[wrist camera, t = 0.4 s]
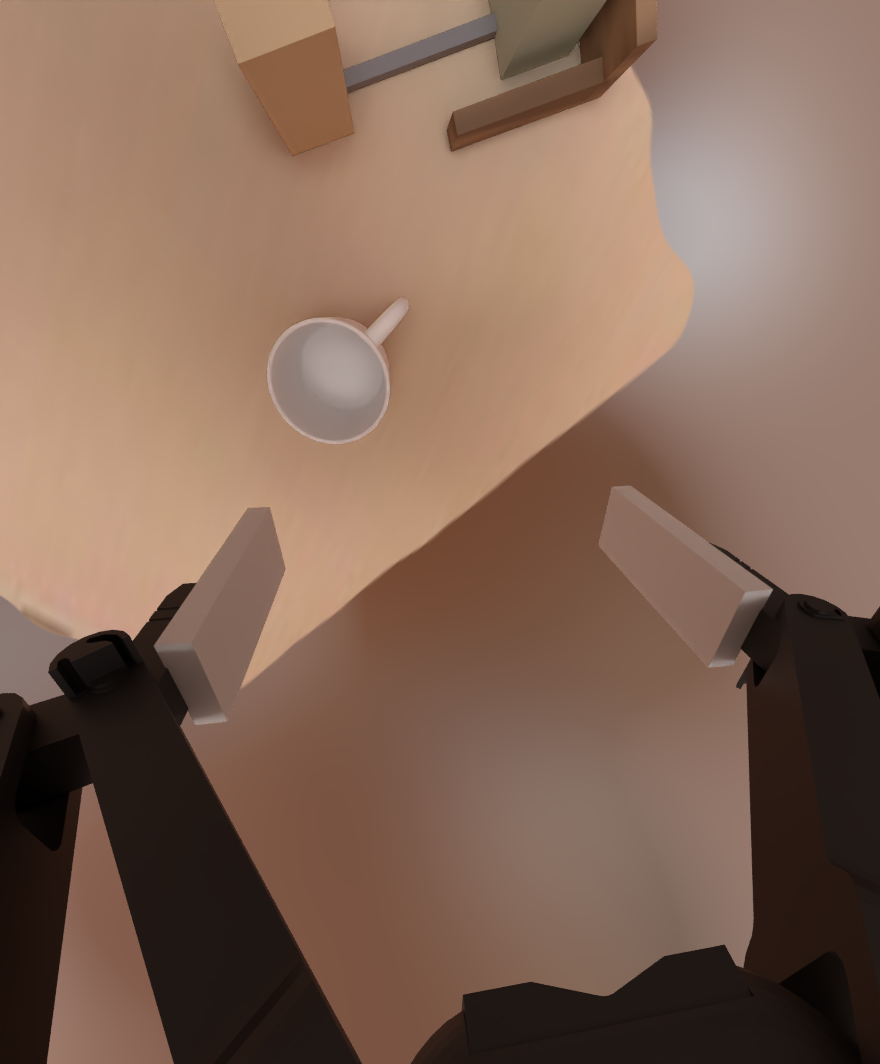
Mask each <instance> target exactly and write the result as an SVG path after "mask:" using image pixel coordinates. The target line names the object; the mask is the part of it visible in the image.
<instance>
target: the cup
mask: <svg viewBox="0 0 880 1064" xmlns="http://www.w3.org/2000/svg"><path fill="white" fill-rule="evenodd" d="M409 306H410V305H409V301H408V300H407V299H406V298H405V297H399V298H398V299H397V300H396V301H394V302H393V303H392V304H391V305H390V306H389V307H388V308H387V309H386V310H385V311H384V312H383V313H382V314H381V315H380V316H379V317H378V318H377V319H376V320H375V322H374V323H373V324H372V325H371V326H370V327H369V328H366V327H365V326H364V325H362V324H360V323H359V322H356V321H354V320H351V319H348V318H343V317H321V318H311V319H306V320H303V321H300V322H298V323H296V324H294V325H292V326H291V327H289V328H288V329H287V330H286V331H284V332H283V333H282V335H281V336H280V337H279V338H278V339H277V341H276V342H275V344H274V346H273V348H272V350H271V352H270V355H269V359H268V364H267V383H268V388H269V392H270V395H271V398H272V400H273V403H274V405H275V407H276V409H277V410H278V412H279V413H280V415H281V416H282V417H283V419H284V420H285V421H286V422H287V423H288V424H289V425H290V426H291V427H292V428H294V429H295V430H296V431H297V432H299V433H300V434H302V435H304V436H306V437H307V438H310V439H312V440H315V441H318V442H321V443H327V444H345V443H350V442H353V441H356V440H358V439H360V438H362V437H364V436H366V435H367V434H369V433H370V432H371V431H372V430H373V429H374V428H375V427H376V426H377V425H378V424H379V422H380V421H381V419H382V418H383V416H384V414H385V412H386V409H387V406H388V402H389V397H390V372H389V363H388V359H387V355H386V352H385V350H384V348H383V346H382V342H383V341H384V340H385V339H386V338H387V337H388V335H389V334H390V333H391V332H392V331H393V330H394V328H395V327H396V326H397V325H398V324H399V322H400V321H401V320H402V319H403V317H404V316H405V314H406V313H407V311H408V310H409Z"/></svg>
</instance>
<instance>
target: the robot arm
mask: <svg viewBox="0 0 880 1064" xmlns="http://www.w3.org/2000/svg"><path fill="white" fill-rule="evenodd" d="M599 547H600V548H601V549H602V550H603V551H604V552H605V553H606V555H607V556H608V557H609V558H610V559H611V560H612V561H613V562H614V563H615V564H616V565H617V567H618V568H619V569H620V570H621V571H622V572H623V573H624V575H625V576H626V577H627V578H628V579H629V580H630V581H631V582H632V583H633V585H634V586H635V587H636V588H637V589H638V590H639V591H640V592H641V593H642V594H643V596H644V597H645V598H646V599H647V600H648V601H649V602H650V604H651V605H652V606H653V607H654V608H655V609H656V610H657V611H658V612H659V614H660V615H661V616H662V617H663V618H664V619H665V620H666V621H667V622H668V623H669V625H670V626H671V627H672V628H673V629H674V630H675V631H676V632H677V634H678V635H679V636H680V637H681V638H682V639H683V640H684V641H685V643H686V644H687V645H688V646H689V647H690V648H691V649H692V650H693V651H694V652H695V654H696V655H697V656H698V657H699V658H700V659H701V660H702V661H703V663H704V664H705V665H706V666H707V667H708V668H710V667H719V666H728V665H733V663H734V661H735V660H736V658H737V656H738V654H739V652H740V650H741V649H742V650H743V651H744V652H745V653H746V654H747V655H748V656H749V657H750V658H751V659H750V661H749V663H748V665H747V667H746V668H745V670H744V672H743V674H742V676H741V677H740V679H739V681H738V683H737V686H736V687H737V688H739V689H741V687H742V685H743V684H745V683H747V714H748V715H747V716H748V749H749V777H750V778H749V781H750V814H751V847H752V876H753V877H752V879H753V912H754V922H753V932H752V937H751V940H750V943H749V946H748V949H747V952H746V956H745V962H744V968H742V967H739V966H736V965H735V963H734V961H733V960H732V957H731V956H730V954H729V952H728V950H727V948H726V946H725V945H720V946H715V947H711V948H705V949H700V950H695V951H690V952H684V953H679V954H673V955H668V956H664V957H663V958H661V959H660V960H659V961H657V962H656V963H654V964H653V965H652V966H650V967H649V968H648V969H646V970H645V971H643V972H642V973H641V974H640V975H638V976H637V977H635V978H634V979H632V980H631V981H630V982H628V983H627V984H626V985H624V986H623V987H622V988H620V989H619V990H617V991H616V992H615V993H614V994H611V995H609V996H598V995H593V994H588V993H583V992H578V991H573V990H568V989H563V988H558V987H553V986H549V985H544V984H539V983H534V982H528V983H522V984H517V985H512V986H506V987H501V988H496V989H491V990H485V991H480V992H475V993H470V994H465V995H463V1001H462V1011H461V1012H460V1013H458V1014H457V1015H455V1016H454V1017H453V1018H451V1019H450V1020H448V1021H447V1022H446V1023H444V1024H443V1025H442V1026H441V1027H440V1028H439V1029H438V1030H437V1031H436V1032H435V1033H434V1034H433V1035H432V1036H431V1037H430V1038H429V1039H428V1041H427V1042H426V1043H425V1044H424V1046H423V1047H422V1048H421V1049H420V1051H419V1052H418V1053H417V1055H416V1056H415V1058H414V1059H413V1061H412V1062H411V1064H880V607H879V608H878V610H877V611H876V613H875V614H874V615H873V617H872V618H871V619H868V618H860V617H852V616H848V615H847V614H846V613H845V612H844V611H842V610H841V609H840V608H838V607H837V606H835V605H833V604H831V603H829V602H827V601H825V600H822V599H819V598H816V597H813V596H809V595H803V594H791V595H789V594H787V593H786V592H784V591H783V590H782V589H780V588H779V587H777V586H776V585H775V584H773V583H772V582H770V581H769V580H768V579H766V578H765V577H763V576H762V575H760V574H759V573H758V572H756V571H755V570H753V569H750V567H749V566H748V565H746V564H745V563H744V562H740V560H739V559H738V558H737V557H735V556H734V555H732V554H731V553H730V552H728V551H726V550H724V549H722V548H720V547H718V546H716V545H714V544H711V543H709V542H707V541H706V540H704V539H703V538H701V537H700V536H699V535H698V534H696V533H695V532H693V531H692V530H690V529H689V528H688V527H686V526H685V525H683V524H682V523H681V522H679V521H678V520H677V519H675V518H674V517H673V516H671V515H670V514H668V513H667V512H666V511H664V510H663V509H662V508H660V507H659V506H658V505H656V504H655V503H653V502H652V501H651V500H649V499H648V498H647V497H645V496H644V495H642V494H641V493H640V492H638V491H637V490H635V489H634V488H633V487H631V486H618V487H612V489H611V494H610V498H609V503H608V507H607V511H606V515H605V520H604V524H603V528H602V532H601V537H600V541H599ZM284 572H285V565H284V561H283V557H282V553H281V549H280V545H279V541H278V537H277V533H276V529H275V525H274V521H273V518H272V514H271V510H270V507H261V508H248V509H247V510H246V512H245V513H244V515H243V516H242V518H241V519H240V520H239V522H238V523H237V525H236V526H235V528H234V529H233V531H232V532H231V534H230V535H229V537H228V538H227V539H226V541H225V542H224V544H223V545H222V547H221V548H220V550H219V551H218V553H217V554H216V556H215V557H214V558H213V560H212V561H211V563H210V564H209V566H208V567H207V569H206V570H205V572H204V573H203V575H202V576H201V577H200V579H199V580H198V582H197V583H189V584H182V585H181V586H179V587H178V588H177V589H175V590H174V591H173V592H171V593H170V594H169V595H167V596H166V598H165V599H164V600H163V602H162V603H161V604H160V606H159V607H158V608H157V611H155V612H154V614H153V615H152V616H151V617H150V619H149V622H147V623H146V624H145V625H144V627H143V628H142V629H141V631H140V632H139V633H138V635H137V636H136V637H135V639H134V640H133V641H132V640H131V638H130V636H129V635H128V634H127V633H125V632H124V631H119V630H109V631H102V632H98V633H95V634H92V635H89V636H86V637H84V638H82V639H80V640H78V641H76V642H74V643H72V644H70V645H69V646H68V647H66V648H65V649H64V650H62V651H61V652H60V653H59V654H58V655H57V656H56V657H55V658H54V659H53V661H52V662H51V663H50V666H49V672H48V673H49V674H50V675H51V677H52V678H53V679H54V681H55V682H56V683H57V685H58V686H59V687H60V688H61V690H62V691H63V692H64V694H65V695H62V696H58V697H55V698H52V699H49V700H46V701H42V702H39V703H36V704H33V705H30V706H29V705H28V704H27V703H26V702H25V700H24V699H23V698H22V697H20V696H19V695H17V694H15V693H3V694H0V1064H47V1056H48V1049H49V1042H50V1034H51V1026H52V1018H53V1010H54V1003H55V995H56V986H57V980H58V972H59V964H60V956H61V949H62V941H63V933H64V925H65V917H66V909H67V902H68V895H69V886H70V879H71V871H72V862H73V856H74V848H75V840H76V832H77V824H78V817H79V809H80V802H81V794H82V787H84V786H87V785H89V784H92V783H93V784H94V788H95V792H96V795H97V798H98V802H99V805H100V809H101V812H102V816H103V819H104V823H105V826H106V830H107V833H108V836H109V840H110V843H111V847H112V850H113V854H114V857H115V861H116V864H117V868H118V871H119V875H120V878H121V881H122V885H123V889H124V892H125V896H126V899H127V903H128V906H129V909H130V913H131V916H132V920H133V923H134V927H135V930H136V934H137V937H138V940H139V944H140V947H141V951H142V954H143V958H144V961H145V965H146V968H147V972H148V975H149V978H150V982H151V986H152V989H153V992H154V996H155V999H156V1003H157V1006H158V1010H159V1013H160V1016H161V1020H162V1024H163V1027H164V1031H165V1034H166V1037H167V1041H168V1044H169V1048H170V1052H171V1055H172V1059H173V1062H174V1064H362V1063H361V1061H360V1059H359V1057H358V1055H357V1053H356V1051H355V1050H354V1048H353V1046H352V1044H351V1042H350V1040H349V1038H348V1037H347V1035H346V1033H345V1031H344V1029H343V1028H342V1026H341V1024H340V1022H339V1020H338V1019H337V1017H336V1015H335V1013H334V1011H333V1009H332V1007H331V1006H330V1004H329V1002H328V1000H327V998H326V996H325V995H324V993H323V991H322V989H321V987H320V985H319V984H318V982H317V980H316V978H315V976H314V974H313V972H312V970H311V969H310V967H309V965H308V963H307V961H306V959H305V958H304V956H303V954H302V952H301V950H300V948H299V946H298V944H297V943H296V941H295V939H294V937H293V935H292V933H291V931H290V930H289V928H288V926H287V924H286V922H285V920H284V918H283V916H282V915H281V913H280V911H279V909H278V907H277V905H276V903H275V902H274V900H273V898H272V896H271V894H270V892H269V890H268V889H267V887H266V885H265V883H264V881H263V879H262V878H261V876H260V874H259V872H258V870H257V868H256V866H255V864H254V863H253V861H252V859H251V857H250V855H249V853H248V851H247V850H246V848H245V846H244V844H243V842H242V840H241V838H240V837H239V835H238V833H237V831H236V829H235V827H234V825H233V824H232V822H231V820H230V818H229V816H228V815H227V812H226V810H225V809H224V807H223V805H222V803H221V801H220V799H219V798H218V796H217V794H216V792H215V790H214V788H213V786H212V784H211V783H210V781H209V779H208V777H207V775H206V773H205V771H204V770H203V768H202V766H201V764H200V762H199V760H198V758H197V757H196V755H195V753H194V751H193V749H192V747H191V746H190V744H189V742H188V740H187V738H186V736H185V734H184V732H183V731H182V729H181V727H180V725H181V723H182V721H183V719H184V717H185V715H186V713H187V711H188V712H189V714H190V716H191V718H192V720H193V722H194V723H195V725H201V724H210V723H219V722H227V721H228V719H229V716H230V714H231V711H232V708H233V706H234V703H235V701H236V698H237V695H238V692H239V690H240V687H241V685H242V682H243V679H244V677H245V674H246V672H247V669H248V666H249V664H250V661H251V658H252V656H253V653H254V651H255V648H256V645H257V643H258V640H259V637H260V635H261V632H262V630H263V627H264V624H265V622H266V619H267V616H268V614H269V611H270V609H271V606H272V603H273V601H274V598H275V595H276V593H277V590H278V588H279V585H280V582H281V580H282V577H283V574H284Z"/></svg>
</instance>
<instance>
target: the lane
mask: <svg viewBox="0 0 880 1064" xmlns="http://www.w3.org/2000/svg"><path fill="white" fill-rule="evenodd" d="M656 39H657V0H607V1H606V2H605V3H604V5H603V6H602V8H601V9H600V11H599V12H598V13H597V15H596V16H595V18H594V19H593V21H592V22H591V23H590V25H589V26H588V28H587V29H586V31H585V32H584V33H583V35H582V36H581V38H580V49H581V63H582V64H581V65H578V66H575V67H573V68H570V69H567V70H565V71H562V72H559V73H557V74H554V75H551V76H548V77H546V78H543V79H540V80H538V81H535V82H532V83H530V84H527V85H524V86H521V87H519V88H516V89H513V90H511V91H508V92H505V93H503V94H500V95H497V96H494V97H492V98H489V99H486V100H484V101H481V102H478V103H476V104H473V105H470V106H467V107H465V108H462V109H459V110H457V111H454V112H453V113H452V116H451V119H450V122H449V125H448V128H447V133H448V138H449V143H450V148H451V151H454V150H457V149H459V148H462V147H465V146H468V145H470V144H473V143H476V142H479V141H481V140H484V139H487V138H489V137H492V136H495V135H498V134H500V133H503V132H506V131H509V130H511V129H514V128H517V127H520V126H522V125H525V124H528V123H530V122H533V121H536V120H539V119H541V118H544V117H547V116H550V115H552V114H555V113H558V112H561V111H563V110H566V109H569V108H571V107H574V106H577V105H580V104H582V103H585V102H588V101H591V100H593V99H596V98H599V97H601V96H602V95H603V94H604V93H605V91H606V90H607V89H608V88H609V87H610V86H611V85H612V84H613V83H614V82H615V81H616V80H617V79H618V78H619V77H620V76H621V75H622V74H623V73H624V72H625V71H626V70H627V69H628V68H629V67H630V66H631V65H632V64H633V63H634V62H635V61H636V60H637V59H638V58H639V57H640V56H641V55H642V54H643V53H644V52H645V50H647V49H648V48H649V47H650V46H651V44H652V43H653V42H654V41H655V40H656Z"/></svg>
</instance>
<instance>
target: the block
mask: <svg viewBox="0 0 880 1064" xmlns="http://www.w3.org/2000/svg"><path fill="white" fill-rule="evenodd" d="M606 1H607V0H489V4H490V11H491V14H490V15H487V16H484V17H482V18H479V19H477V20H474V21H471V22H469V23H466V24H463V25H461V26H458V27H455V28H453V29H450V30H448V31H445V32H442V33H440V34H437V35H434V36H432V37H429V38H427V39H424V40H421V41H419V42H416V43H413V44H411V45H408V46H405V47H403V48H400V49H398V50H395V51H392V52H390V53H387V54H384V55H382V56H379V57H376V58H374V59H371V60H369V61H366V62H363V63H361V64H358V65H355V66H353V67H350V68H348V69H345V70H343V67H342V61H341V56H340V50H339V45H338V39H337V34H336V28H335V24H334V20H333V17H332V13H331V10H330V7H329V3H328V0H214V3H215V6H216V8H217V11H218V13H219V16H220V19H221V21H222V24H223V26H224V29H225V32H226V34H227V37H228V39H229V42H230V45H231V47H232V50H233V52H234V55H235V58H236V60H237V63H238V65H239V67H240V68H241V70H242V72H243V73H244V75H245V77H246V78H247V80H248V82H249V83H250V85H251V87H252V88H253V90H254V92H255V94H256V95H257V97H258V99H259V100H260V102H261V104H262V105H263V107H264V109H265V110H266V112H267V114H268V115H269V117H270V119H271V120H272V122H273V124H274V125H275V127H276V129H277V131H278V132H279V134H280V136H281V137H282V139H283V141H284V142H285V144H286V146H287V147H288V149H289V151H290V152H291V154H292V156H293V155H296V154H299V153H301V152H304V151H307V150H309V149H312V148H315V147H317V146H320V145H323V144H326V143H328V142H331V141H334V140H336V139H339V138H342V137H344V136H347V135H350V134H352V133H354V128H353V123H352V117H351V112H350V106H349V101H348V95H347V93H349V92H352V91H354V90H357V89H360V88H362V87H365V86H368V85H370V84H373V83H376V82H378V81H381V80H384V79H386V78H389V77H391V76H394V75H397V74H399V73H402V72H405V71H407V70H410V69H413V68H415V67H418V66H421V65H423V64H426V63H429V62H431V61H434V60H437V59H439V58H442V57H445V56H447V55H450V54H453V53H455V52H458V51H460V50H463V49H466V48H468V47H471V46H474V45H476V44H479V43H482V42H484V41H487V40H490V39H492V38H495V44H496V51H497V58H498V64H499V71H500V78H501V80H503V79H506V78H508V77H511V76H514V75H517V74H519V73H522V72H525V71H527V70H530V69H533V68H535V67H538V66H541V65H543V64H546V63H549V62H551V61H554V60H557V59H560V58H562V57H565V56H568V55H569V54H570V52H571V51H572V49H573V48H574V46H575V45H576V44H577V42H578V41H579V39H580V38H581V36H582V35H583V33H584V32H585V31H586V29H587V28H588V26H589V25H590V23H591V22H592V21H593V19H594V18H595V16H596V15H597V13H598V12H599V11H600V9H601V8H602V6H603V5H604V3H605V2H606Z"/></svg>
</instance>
